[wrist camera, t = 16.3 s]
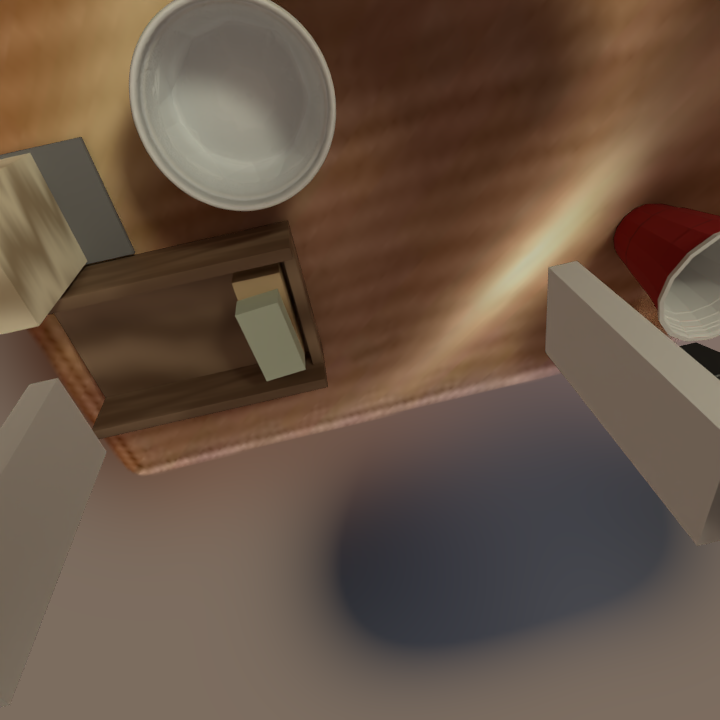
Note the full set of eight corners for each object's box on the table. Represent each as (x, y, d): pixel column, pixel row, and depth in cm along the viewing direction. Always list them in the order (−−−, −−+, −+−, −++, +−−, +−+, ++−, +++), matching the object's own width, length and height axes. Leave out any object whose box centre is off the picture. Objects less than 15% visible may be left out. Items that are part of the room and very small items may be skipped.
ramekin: (269, 216, 44) (268, 246, 39) (118, 117, 39) (91, 136, 33) (361, 77, 39) (376, 88, 34) (204, -60, 34) (190, -74, 28)
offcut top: (236, 301, 43) (234, 315, 41) (277, 288, 43) (277, 302, 41) (267, 365, 47) (266, 381, 45) (304, 353, 47) (305, 369, 45)
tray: (40, 276, 45) (10, 310, 39) (288, 220, 45) (289, 247, 40) (113, 398, 53) (96, 439, 47) (323, 350, 53) (328, 386, 48)
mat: (-61, 168, 39) (-64, 169, 39) (81, 136, 39) (79, 137, 39) (10, 279, 44) (8, 281, 44) (135, 251, 44) (133, 253, 44)
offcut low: (234, 266, 45) (231, 283, 42) (278, 256, 45) (279, 272, 42) (263, 349, 50) (262, 369, 47) (303, 340, 50) (305, 360, 47)
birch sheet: (-9, 161, 39) (-96, 207, 30) (29, 152, 39) (-45, 196, 30) (53, 268, 44) (-5, 335, 35) (87, 261, 44) (38, 326, 35)
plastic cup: (583, 295, 53) (653, 359, 43) (591, 192, 47) (674, 240, 37) (685, 271, 53) (777, 330, 43) (706, 165, 47) (819, 206, 37)
